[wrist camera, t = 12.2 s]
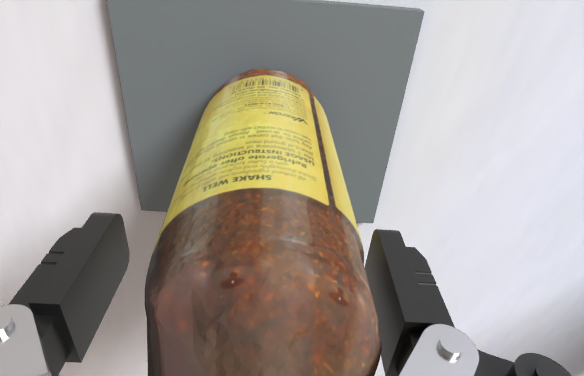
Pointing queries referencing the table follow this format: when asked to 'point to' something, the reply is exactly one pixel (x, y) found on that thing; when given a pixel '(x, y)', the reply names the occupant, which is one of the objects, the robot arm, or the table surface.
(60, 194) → the table surface
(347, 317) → the sauce bottle
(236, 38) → the placemat
